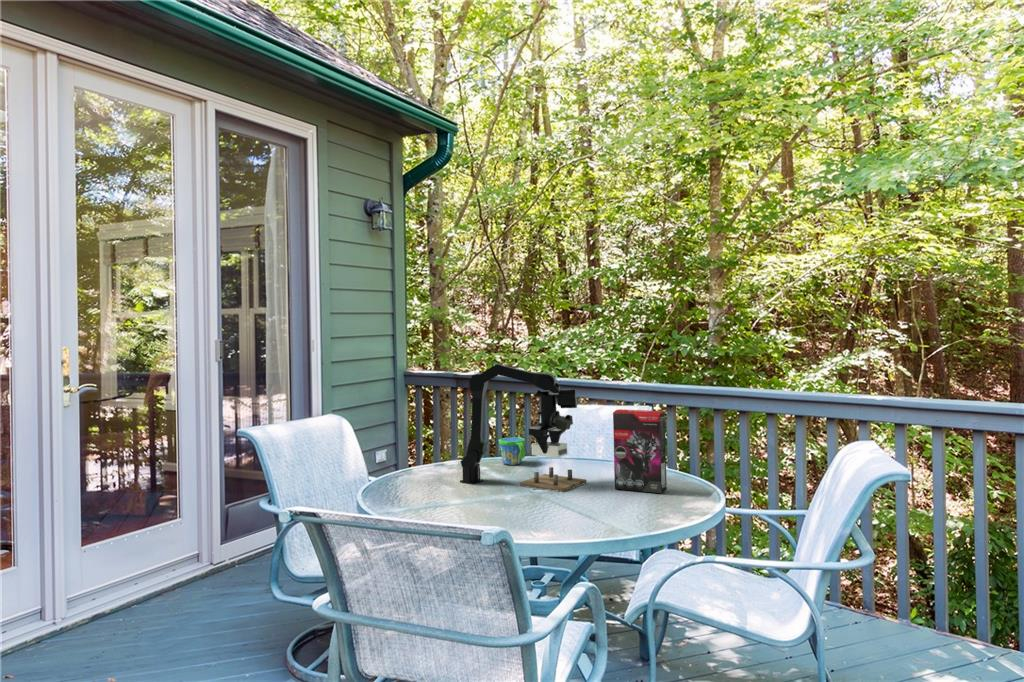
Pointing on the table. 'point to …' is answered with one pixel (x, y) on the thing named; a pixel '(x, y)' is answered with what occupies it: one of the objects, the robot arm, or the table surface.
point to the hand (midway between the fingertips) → (549, 451)
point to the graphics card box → (639, 450)
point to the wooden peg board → (553, 481)
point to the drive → (550, 449)
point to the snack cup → (512, 450)
